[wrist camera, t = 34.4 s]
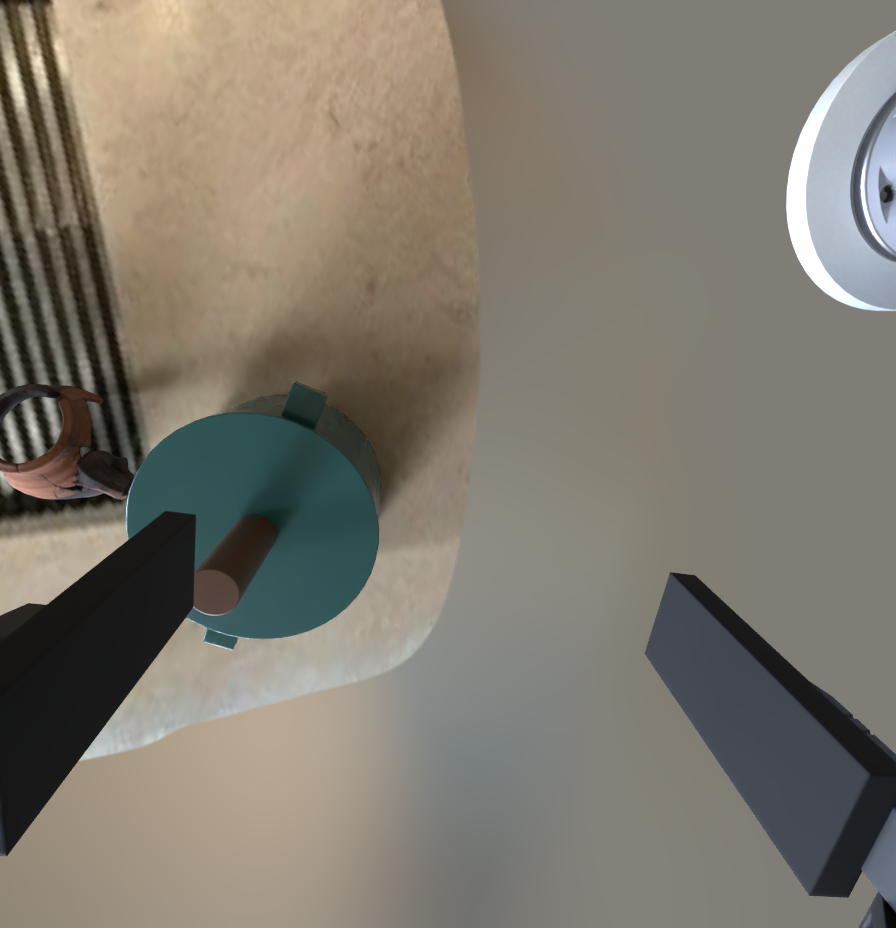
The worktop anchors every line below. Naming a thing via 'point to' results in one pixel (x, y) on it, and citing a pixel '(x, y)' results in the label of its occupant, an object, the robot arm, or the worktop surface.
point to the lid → (262, 521)
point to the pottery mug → (66, 452)
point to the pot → (330, 423)
